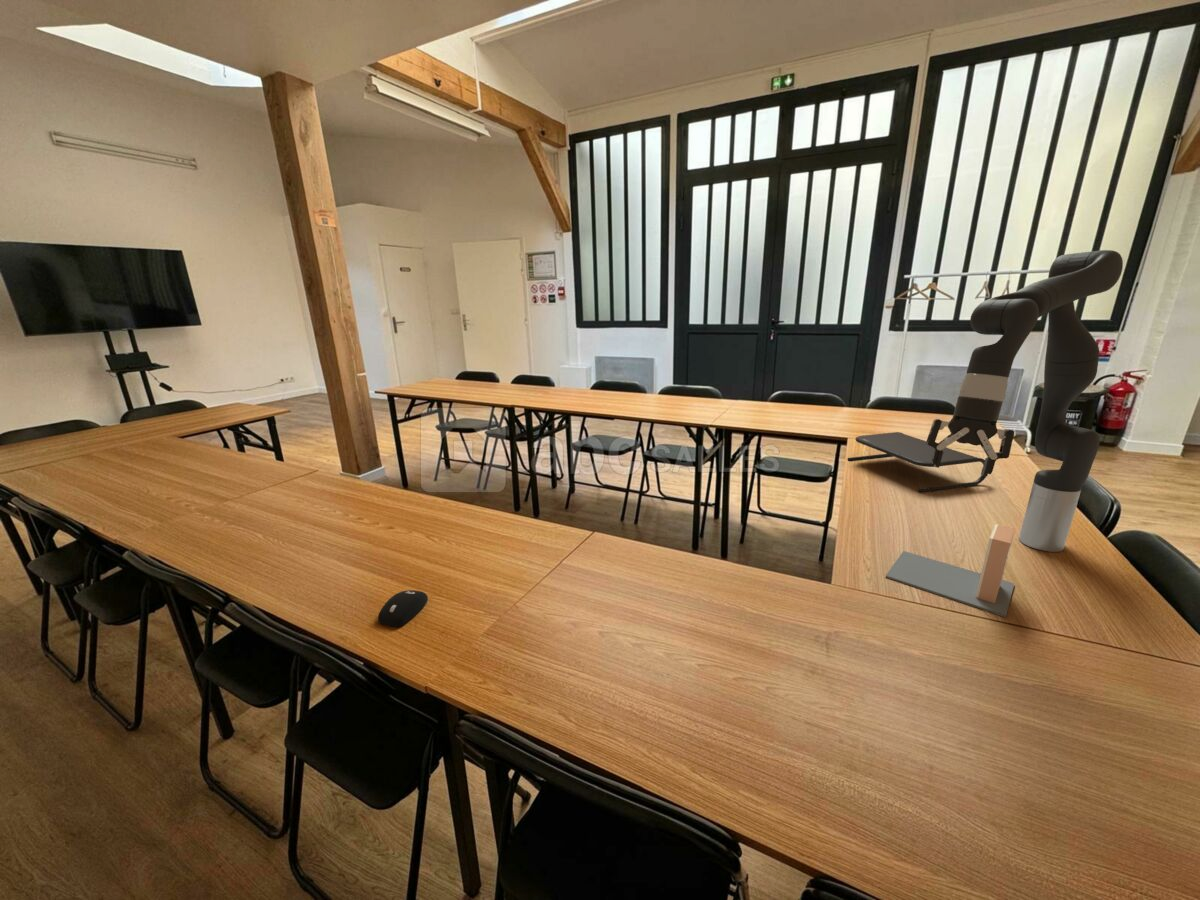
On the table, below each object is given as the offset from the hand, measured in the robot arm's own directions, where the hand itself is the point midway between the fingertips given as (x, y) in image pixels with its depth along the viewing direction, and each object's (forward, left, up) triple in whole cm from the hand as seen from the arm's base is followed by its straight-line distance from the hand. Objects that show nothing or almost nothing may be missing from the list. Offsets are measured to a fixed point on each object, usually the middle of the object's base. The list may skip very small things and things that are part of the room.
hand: (959, 471), depth 103 cm
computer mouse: (+89, -87, -30) cm, 128 cm away
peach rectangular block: (-6, +9, -29) cm, 31 cm away
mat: (-6, +2, -30) cm, 30 cm away
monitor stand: (-84, -24, -30) cm, 92 cm away
